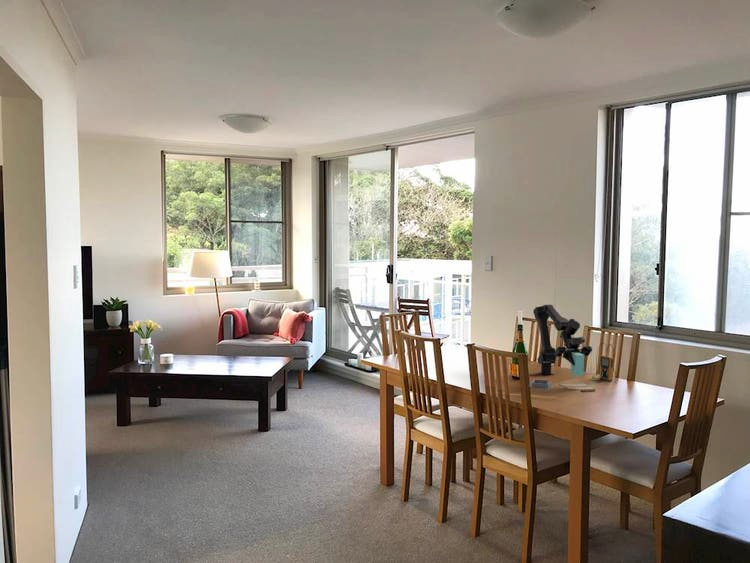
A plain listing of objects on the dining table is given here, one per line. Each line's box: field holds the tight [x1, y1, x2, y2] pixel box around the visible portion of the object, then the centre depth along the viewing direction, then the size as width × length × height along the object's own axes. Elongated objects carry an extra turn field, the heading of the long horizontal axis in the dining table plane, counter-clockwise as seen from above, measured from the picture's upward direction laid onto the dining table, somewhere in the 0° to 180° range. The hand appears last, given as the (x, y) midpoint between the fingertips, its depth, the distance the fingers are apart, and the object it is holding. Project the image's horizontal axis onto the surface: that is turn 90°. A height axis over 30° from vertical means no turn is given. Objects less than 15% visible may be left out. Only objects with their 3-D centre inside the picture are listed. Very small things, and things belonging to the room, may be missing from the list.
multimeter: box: [592, 342, 619, 383], centre depth 323 cm, size 15×10×20 cm
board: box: [559, 382, 596, 393], centre depth 304 cm, size 13×13×1 cm
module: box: [570, 353, 585, 377], centre depth 304 cm, size 5×4×11 cm
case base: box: [529, 378, 553, 390], centre depth 307 cm, size 14×11×3 cm
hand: (578, 364), depth 302 cm, fingers closed on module, 4 cm apart
